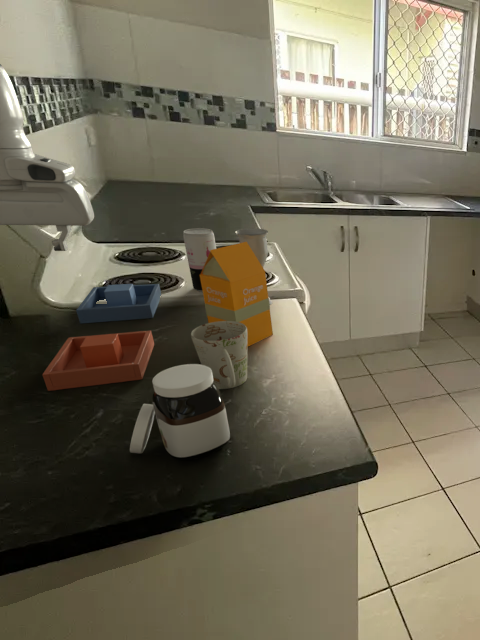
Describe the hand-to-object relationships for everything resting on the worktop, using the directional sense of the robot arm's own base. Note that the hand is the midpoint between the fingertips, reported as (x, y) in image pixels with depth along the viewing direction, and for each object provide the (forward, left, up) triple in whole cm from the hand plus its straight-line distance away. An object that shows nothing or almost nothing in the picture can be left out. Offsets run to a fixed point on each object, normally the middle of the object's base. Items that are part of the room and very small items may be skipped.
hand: (25, 250), depth 81 cm
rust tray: (+8, -8, -20) cm, 23 cm away
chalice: (+34, +18, -20) cm, 44 cm away
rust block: (+8, -8, -19) cm, 22 cm away
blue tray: (+6, +21, -20) cm, 29 cm away
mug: (+28, -22, -20) cm, 41 cm away
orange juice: (+30, -2, -20) cm, 36 cm away
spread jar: (+22, -38, -20) cm, 48 cm away
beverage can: (+22, +32, -20) cm, 44 cm away
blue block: (+6, +21, -19) cm, 29 cm away
